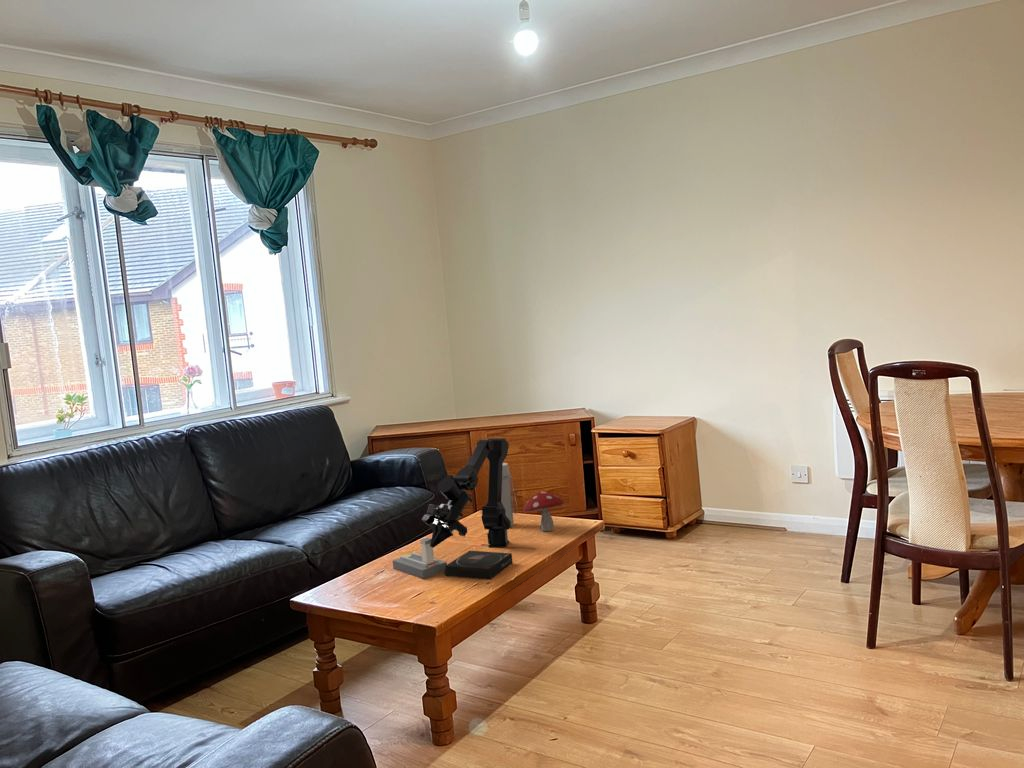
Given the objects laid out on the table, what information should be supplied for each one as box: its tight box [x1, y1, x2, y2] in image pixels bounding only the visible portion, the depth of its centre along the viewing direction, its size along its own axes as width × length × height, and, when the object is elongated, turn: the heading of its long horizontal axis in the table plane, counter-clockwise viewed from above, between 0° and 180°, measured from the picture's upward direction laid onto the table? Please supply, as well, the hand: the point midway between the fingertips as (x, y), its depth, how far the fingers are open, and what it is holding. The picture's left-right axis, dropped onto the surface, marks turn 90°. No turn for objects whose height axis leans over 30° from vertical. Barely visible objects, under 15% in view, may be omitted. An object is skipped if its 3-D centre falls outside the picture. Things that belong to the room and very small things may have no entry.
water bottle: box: [501, 462, 518, 528], centre depth 318 cm, size 9×8×25 cm
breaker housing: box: [392, 552, 448, 580], centre depth 273 cm, size 10×18×4 cm, turn 41°
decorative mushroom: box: [522, 491, 565, 532], centre depth 307 cm, size 16×16×15 cm
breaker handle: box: [419, 537, 435, 564], centre depth 268 cm, size 3×3×8 cm
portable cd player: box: [443, 550, 514, 581], centre depth 268 cm, size 16×17×4 cm
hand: (431, 546), depth 264 cm, fingers closed
